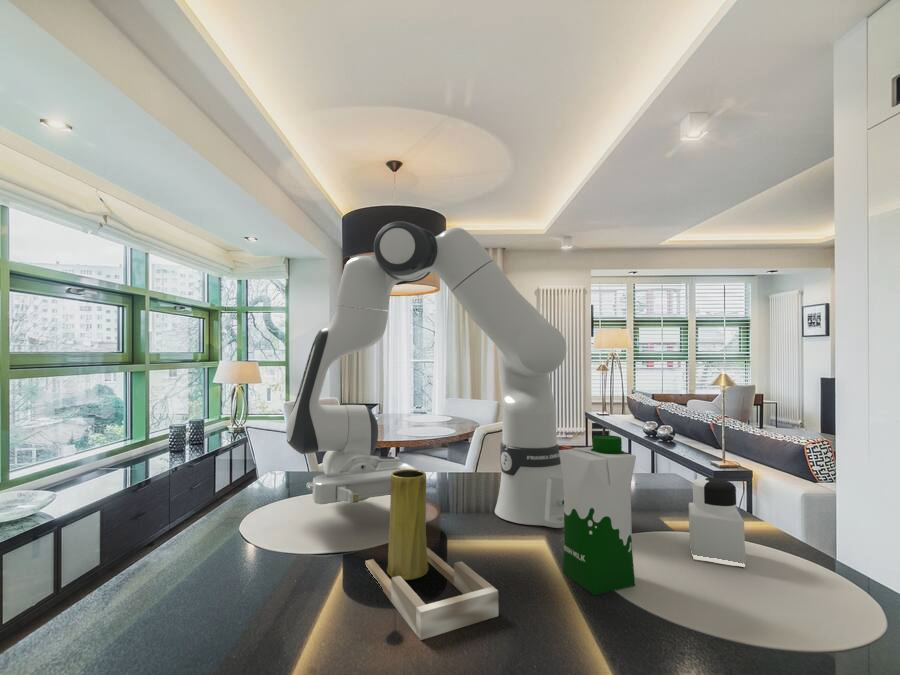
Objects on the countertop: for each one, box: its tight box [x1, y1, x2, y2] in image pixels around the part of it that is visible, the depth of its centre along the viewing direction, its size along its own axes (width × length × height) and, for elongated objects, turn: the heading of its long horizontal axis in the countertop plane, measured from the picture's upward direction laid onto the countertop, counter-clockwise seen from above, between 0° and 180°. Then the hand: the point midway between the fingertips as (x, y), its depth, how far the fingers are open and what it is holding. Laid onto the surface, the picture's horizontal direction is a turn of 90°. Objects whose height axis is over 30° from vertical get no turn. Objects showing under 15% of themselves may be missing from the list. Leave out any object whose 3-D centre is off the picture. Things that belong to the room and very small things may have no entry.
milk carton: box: [559, 434, 637, 596], centre depth 65 cm, size 9×9×20 cm
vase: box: [386, 469, 429, 581], centre depth 67 cm, size 6×6×14 cm
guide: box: [364, 547, 499, 641], centre depth 61 cm, size 10×20×3 cm, turn 28°
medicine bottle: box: [688, 476, 746, 564], centre depth 73 cm, size 7×7×12 cm
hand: (381, 494), depth 78 cm, fingers open, 8 cm apart
